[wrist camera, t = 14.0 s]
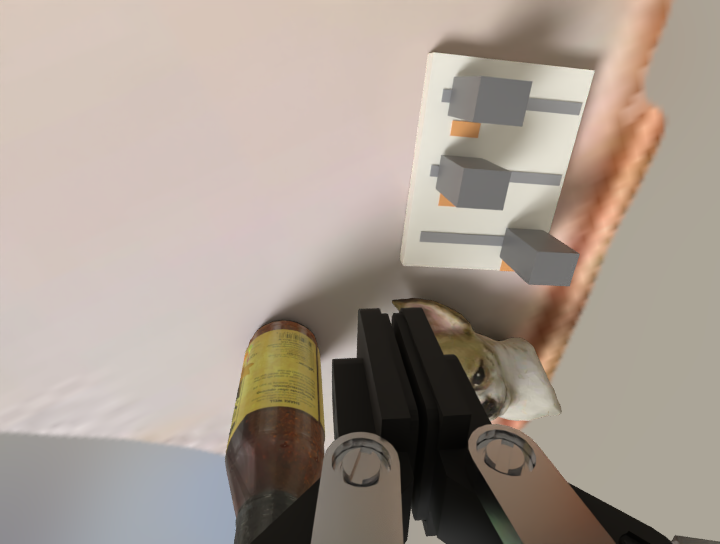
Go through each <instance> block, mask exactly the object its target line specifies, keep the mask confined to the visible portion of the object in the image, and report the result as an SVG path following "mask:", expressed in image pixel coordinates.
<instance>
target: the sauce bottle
mask: <svg viewBox="0 0 720 544" xmlns="http://www.w3.org/2000/svg"><path fill="white" fill-rule="evenodd" d="M324 441H325V427H324V411H323V394H322V378H321V362H320V352H319V349H318V346H317V342H316V339H315V336H314V335H313V334H312V332H311V331H310V330H309V329H307V328H306V327H305V326H302V325H300V324H298V323H296V322H292V321H284V320H280V321H275V322H271V323H269V324H266V325H264V326H263V327H261V328H260V329H259V330H257V331H256V333H255V334H254V336H253V338H252V339H251V340H250V342H249V346H248V348H247V350H246V353H245V358H244V363H243V368H242V373H241V378H240V383H239V388H238V393H237V398H236V403H235V408H234V413H233V418H232V424H231V429H230V433H229V439H228V444H227V450H226V456H225V464H226V471H227V476H228V480H229V485H230V490H231V495H232V500H233V505H234V510H235V514H236V534H235V539H234V544H250V543H251V542H252V541H253V540H254V539H255V538H256V537H257V536H259V535H260V534H261V533H262V532H263V531H264V530H265V529H266V528H267V527H268V526H269V525H270V524H271V523H272V522H273V521H274V520H276V519H277V518H278V517H279V516H280V515H281V514H282V513H283V512H284V511H285V510H286V509H287V508H288V507H289V506H290V505H292V504H293V503H294V502H295V501H296V500H297V499H298V498H299V497H300V496H301V495H302V494H303V493H304V492H305V491H306V490H307V489H309V488H310V487H311V486H312V485H313V484H314V483H315V482H316V481H317V480H318V479H319V478H320V477H321V473H322V466H323V459H324Z"/></svg>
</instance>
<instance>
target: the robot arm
mask: <svg viewBox="0 0 720 544" xmlns="http://www.w3.org/2000/svg"><path fill="white" fill-rule="evenodd" d="M332 403H333V423H334V439H335V441H333V442H332V444H331V445H330V446H329V447H328V449H327V450H326V453H325V456H324V459H323V466H322V473H321V477H320V478H319V479H318V480H317V481H316V482H315V483H314V484H313V485H312V486H311V487H310V488H309V489H307V490H306V491H305V492H304V493H303V494H302V495H301V496H300V497H299V498H298V499H297V500H296V501H295V502H294V503H293V504H292V505H290V506H289V507H288V508H287V509H286V510H285V511H284V512H283V513H282V514H281V515H280V516H279V517H278V518H277V519H276V520H274V521H273V522H272V523H271V524H270V525H269V526H268V527H267V528H266V529H265V530H264V531H263V532H262V533H261V534H260V535H259V536H257V537H256V538H255V539H254V540H253V541H252V542H251V543H250V544H405V542H406V541H407V537H408V528H409V519H410V511H411V509H412V513H413V517H414V519H415V520H422V521H423V526H424V530H425V534H426V536H435V535H437V538H439V539H440V540H441V541H443V542H444V543H446V544H720V542H718V541H712V540H705V539H698V538H690V537H684V536H676V535H675V536H674V538H673V540H672V541H670V540H668V538H666V537H665V536H664V535H662V534H661V533H659V532H657V531H656V530H655V529H653V528H652V527H650V526H648V525H646V524H644V523H642V522H640V521H639V520H637V519H635V518H633V517H631V516H629V515H627V514H626V513H624V512H622V511H620V510H618V509H616V508H614V507H612V506H611V505H609V504H607V503H605V502H603V501H601V500H600V499H598V498H596V497H594V496H592V495H590V494H588V493H586V492H584V491H583V490H581V489H579V488H577V487H575V486H573V485H572V484H570V483H568V482H567V481H566V480H565V479H564V477H563V476H562V475H561V474H560V472H559V471H558V470H557V469H556V467H555V466H554V465H553V464H552V462H551V461H550V460H549V459H548V457H547V456H546V455H545V454H544V452H543V451H542V450H541V449H540V447H539V446H538V445H537V444H536V443H535V442H534V441H533V440H532V439H531V438H530V437H529V436H527V435H526V434H524V433H523V432H521V431H520V430H517V429H515V428H512V427H510V426H505V425H500V424H491V422H490V420H489V418H488V416H487V414H486V412H485V410H484V408H483V406H482V404H481V402H480V400H479V398H478V396H477V394H476V392H475V390H474V388H473V386H472V384H471V382H470V380H469V379H468V377H467V375H466V373H465V371H464V369H463V367H462V365H461V363H460V361H459V359H458V357H457V356H456V355H454V354H446V355H444V354H443V352H442V350H441V347H440V345H439V343H438V341H437V339H436V337H435V335H434V332H433V330H432V328H431V326H430V324H429V322H428V320H427V317H426V315H425V313H424V311H423V309H422V307H412V308H400V311H399V313H393V315H392V326H391V323H390V319H389V316H388V314H381V311H380V309H379V308H377V309H359V310H358V334H357V358H347V359H332Z"/></svg>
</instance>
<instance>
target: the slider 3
mask: <svg viewBox="0 0 720 544" xmlns="http://www.w3.org/2000/svg"><path fill="white" fill-rule="evenodd" d="M500 258H501V259H502V260H503V261H504V262H505V263H506V264H507V265H508V266H510V267H511V268H512V269H513V270H514V271H515V272H516V273H517V274H518V275H519V276H520V277H521V278H522V279H523V280H524V281H525V282H526V283H528V284H530V285H554V286H570V283H571V280H572V276H573V273H574V270H575V267H576V264H577V261H578V258H579V253H578V252H576V251H575V250H573V249H571V248H570V247H568V246H567V245H565V244H564V243H562V242H561V241H559V240H558V239H556V238H555V237H553V236H551V235H550V234H548V233H547V232H545V231H544V230H534V229H517V228H506V232H505V236H504V240H503V244H502V248H501V252H500Z"/></svg>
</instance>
